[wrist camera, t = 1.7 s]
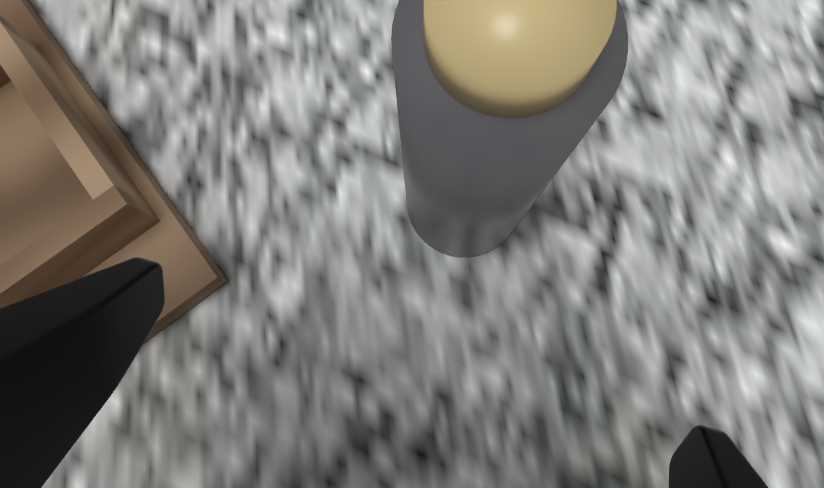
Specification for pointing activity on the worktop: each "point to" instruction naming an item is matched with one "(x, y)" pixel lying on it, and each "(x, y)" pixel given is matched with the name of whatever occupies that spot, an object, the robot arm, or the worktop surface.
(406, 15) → the grey bottle
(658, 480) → the worktop surface
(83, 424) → the robot arm
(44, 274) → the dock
